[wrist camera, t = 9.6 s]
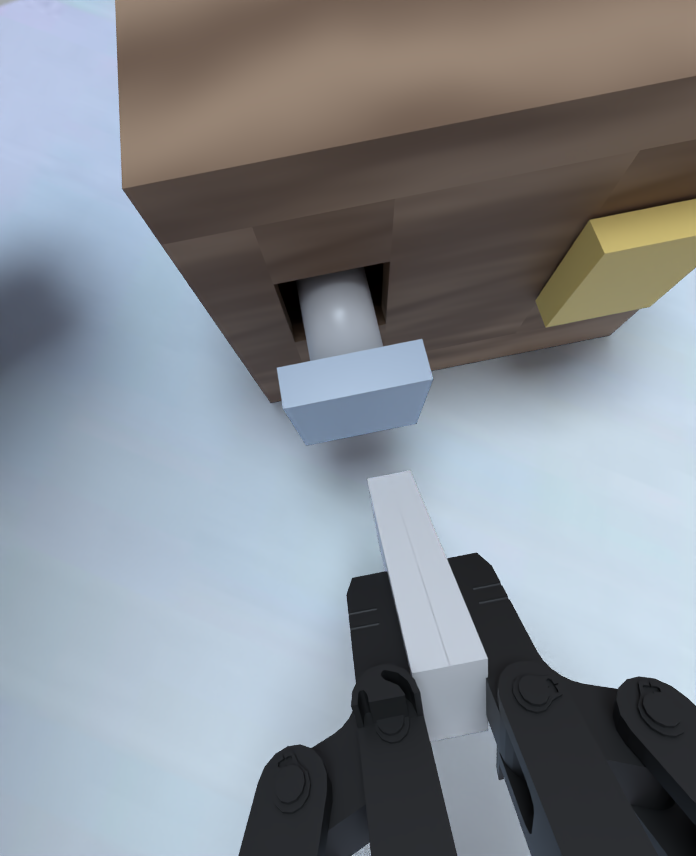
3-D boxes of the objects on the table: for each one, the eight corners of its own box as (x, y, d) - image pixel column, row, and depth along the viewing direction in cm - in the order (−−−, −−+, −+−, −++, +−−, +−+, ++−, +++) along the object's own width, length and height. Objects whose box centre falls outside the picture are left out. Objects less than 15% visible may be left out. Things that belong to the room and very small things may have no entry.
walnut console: (610, 335, 26) (964, 22, 10) (270, 402, 26) (122, 188, 10) (557, 211, 29) (773, -177, 13) (251, 272, 28) (113, -48, 13)
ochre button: (649, 306, 19) (743, 226, 14) (545, 327, 19) (604, 253, 14) (592, 184, 21) (656, 78, 16) (498, 203, 21) (536, 102, 16)
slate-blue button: (416, 423, 18) (433, 379, 13) (306, 445, 18) (283, 408, 13) (380, 282, 20) (384, 200, 15) (282, 302, 20) (254, 226, 15)
